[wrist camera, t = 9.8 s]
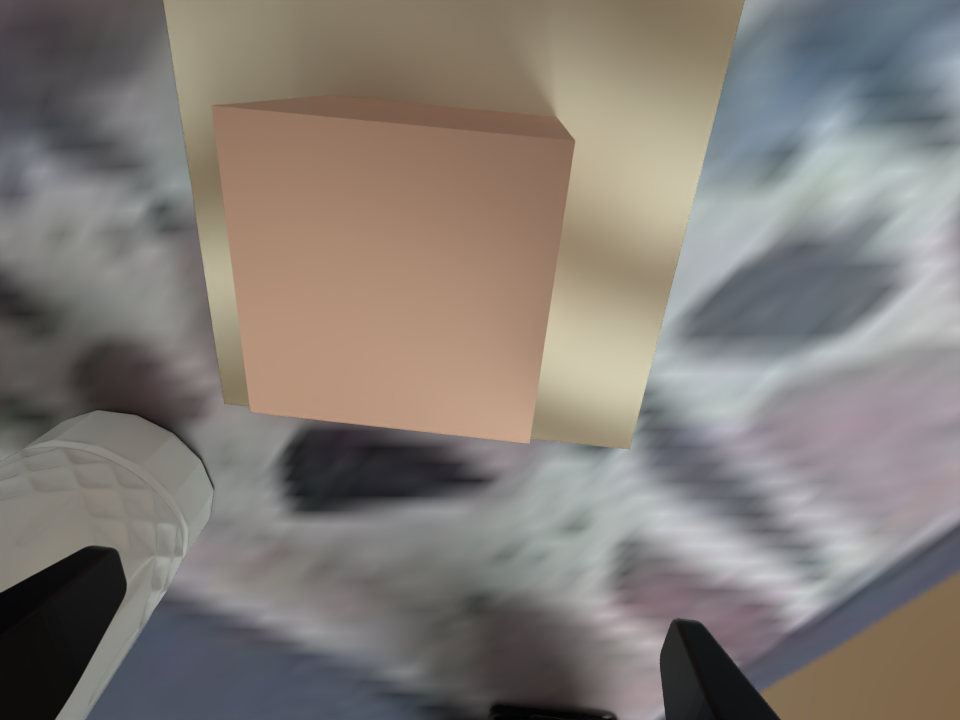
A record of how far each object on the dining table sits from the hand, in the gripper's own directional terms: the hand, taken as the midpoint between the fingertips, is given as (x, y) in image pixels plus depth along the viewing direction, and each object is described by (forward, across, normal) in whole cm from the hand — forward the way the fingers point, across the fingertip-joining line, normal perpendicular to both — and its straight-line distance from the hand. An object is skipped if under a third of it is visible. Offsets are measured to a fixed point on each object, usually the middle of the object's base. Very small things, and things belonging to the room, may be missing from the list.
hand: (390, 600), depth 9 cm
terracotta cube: (+10, +1, -4) cm, 10 cm away
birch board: (+11, +1, -4) cm, 11 cm away
